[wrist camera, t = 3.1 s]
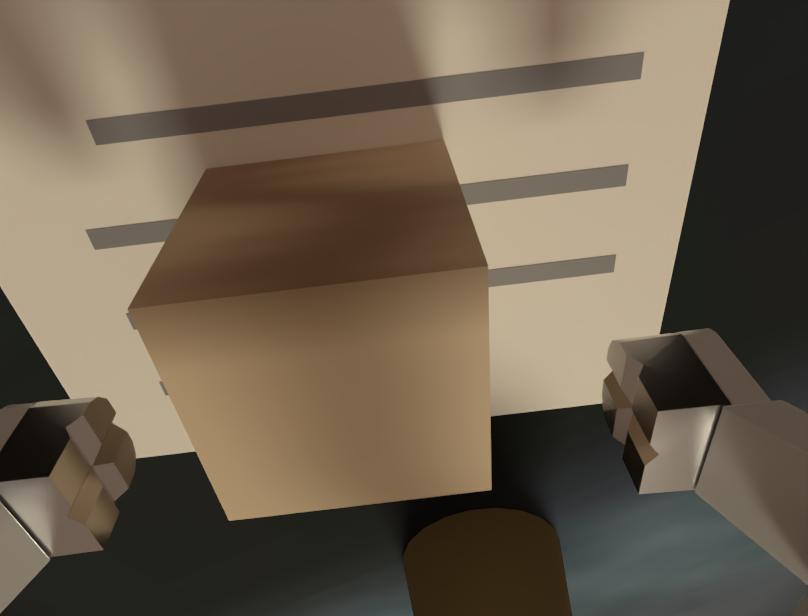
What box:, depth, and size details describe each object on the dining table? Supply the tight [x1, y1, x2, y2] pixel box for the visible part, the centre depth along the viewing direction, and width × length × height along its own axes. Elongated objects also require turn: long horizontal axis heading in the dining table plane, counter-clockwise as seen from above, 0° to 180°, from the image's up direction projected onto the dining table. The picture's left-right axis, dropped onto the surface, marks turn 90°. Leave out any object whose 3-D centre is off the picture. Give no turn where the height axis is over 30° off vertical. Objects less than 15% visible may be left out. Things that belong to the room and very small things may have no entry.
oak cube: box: [128, 140, 492, 521], centre depth 11 cm, size 5×5×5 cm
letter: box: [0, 0, 730, 458], centre depth 13 cm, size 16×12×1 cm
